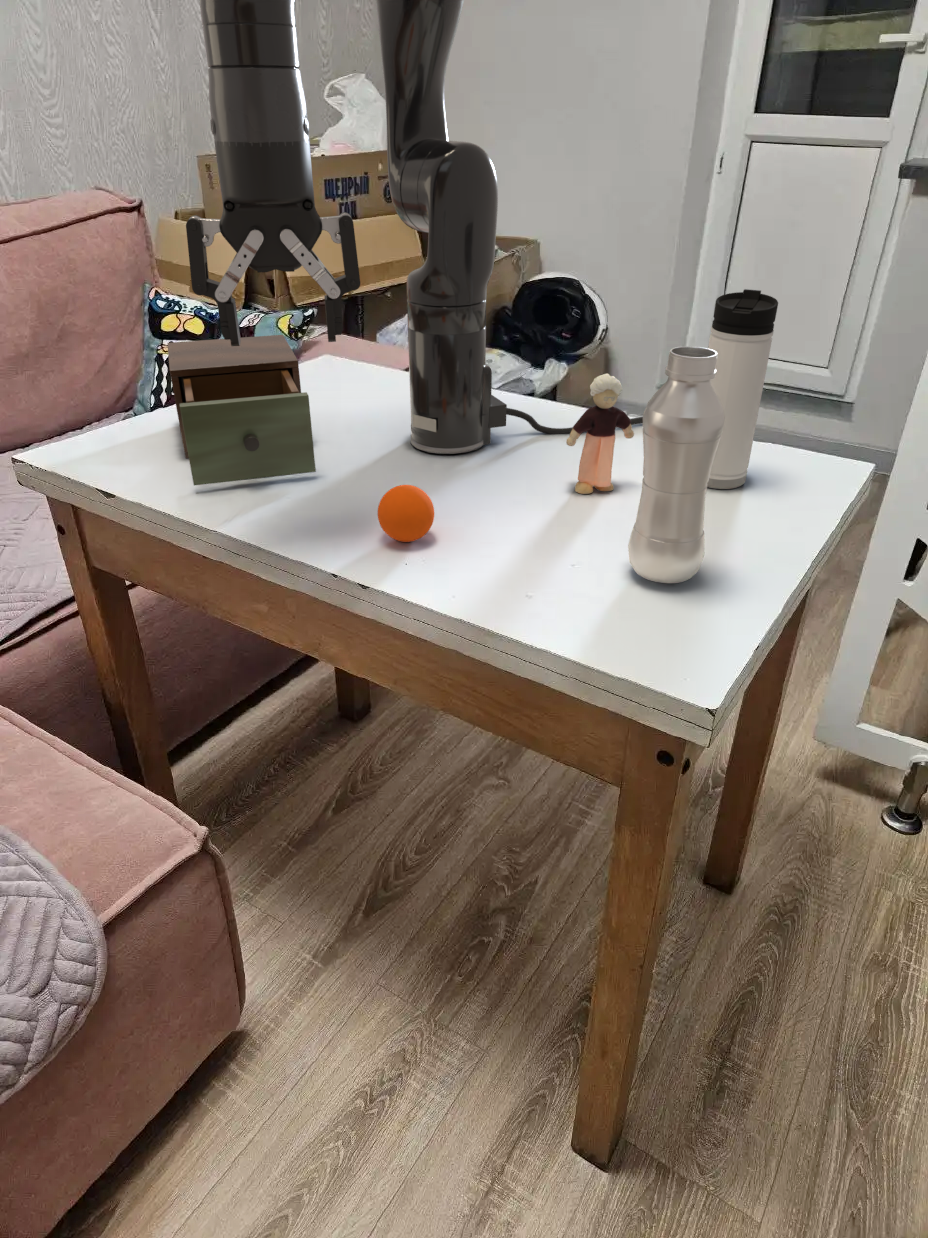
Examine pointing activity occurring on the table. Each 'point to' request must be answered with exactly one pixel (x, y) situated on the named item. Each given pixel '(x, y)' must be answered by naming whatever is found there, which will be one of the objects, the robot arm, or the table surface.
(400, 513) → the ball
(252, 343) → the cabinet
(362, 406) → the table surface
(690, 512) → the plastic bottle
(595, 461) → the grandmother figurine
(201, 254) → the robot arm
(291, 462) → the drawer
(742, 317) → the travel mug
